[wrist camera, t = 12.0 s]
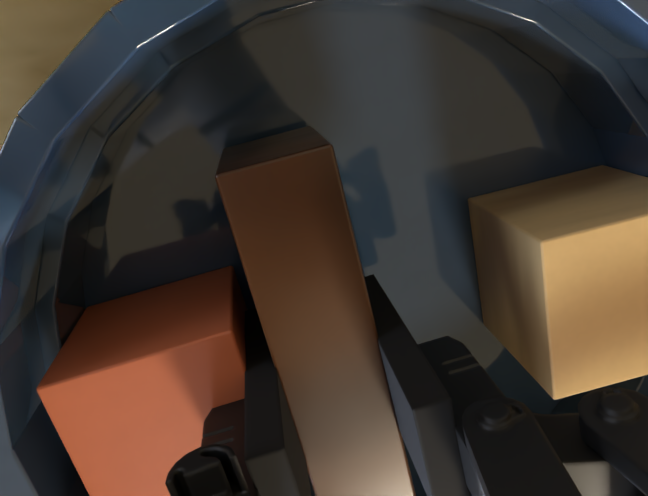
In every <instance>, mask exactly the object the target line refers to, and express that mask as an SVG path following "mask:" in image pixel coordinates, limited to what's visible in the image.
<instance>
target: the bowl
mask: <svg viewBox="0 0 648 496" xmlns="http://www.w3.org/2000/svg"><path fill="white" fill-rule="evenodd" d="M306 126H311V127H312V128H313V129H314V130H316V131H317V132H318V133H319V134H320V135H321V136H323V137H324V138H325V139H326V140H327V141H328V142H330V143H331V144H332V146H333V147H334V152H335V156H336V160H337V164H338V168H339V173H340V177H341V181H342V185H343V190H344V194H345V198H346V202H347V206H348V211H349V215H350V219H351V223H352V228H353V232H354V236H355V240H356V244H357V249H358V253H359V257H360V261H361V266H362V270H363V274H364V277H365V276H369V275H372V274H374V276H375V277H376V279H377V280H378V282H379V284H380V285H381V287H382V288H383V290H384V292H385V293H386V295H387V296H388V298H389V300H390V301H391V303H392V304H393V306H394V308H395V309H396V311H397V312H398V314H399V316H400V317H401V319H402V320H403V322H404V324H405V325H406V327H407V328H408V330H409V332H410V333H411V335H412V336H413V338H414V340H415V341H416V343H417V344H421V343H424V342H427V341H431V340H434V339H438V338H441V337H444V336H449V337H452V338H454V339H456V340H458V341H460V342H462V343H463V344H464V345H465V346H466V347H467V349H468V350H469V351H470V352H471V354H472V356H474V357H475V359H476V360H477V361H478V362H479V364H480V366H482V367H483V369H484V370H485V371H486V372H487V374H488V375H489V376H490V377H491V379H492V380H493V381H494V382H495V384H496V385H497V386H498V387H499V389H500V390H501V391H502V393H503V394H504V395H505V396H506V397H507V398H513V399H515V400H517V401H520V402H522V403H524V404H525V405H526V406H527V407H528V408H529V409H530V410H531V411H532V413H538V414H568V413H578V403H579V401H580V400H581V398H582V397H583V396H584V395H586V394H588V393H589V392H591V391H593V390H597V389H602V388H625V389H629V390H634V391H637V392H639V393H641V394H643V395H645V396H647V397H648V375H644V376H640V377H637V378H633V379H630V380H626V381H622V382H619V383H615V384H611V385H608V386H604V387H600V388H597V389H593V390H589V391H586V392H582V393H579V394H575V395H571V396H568V397H564V398H560V399H557V400H554V399H553V398H552V397H551V396H550V395H549V394H548V393H547V392H546V391H545V390H544V389H543V388H542V387H541V385H540V384H539V383H538V382H537V381H536V380H535V379H534V378H533V377H532V376H531V375H530V374H529V373H528V371H527V370H526V369H525V368H524V367H523V366H522V365H521V364H520V363H519V362H518V361H517V360H516V359H515V358H514V356H513V355H512V354H511V353H510V352H509V351H508V350H507V349H506V348H505V347H504V346H503V345H502V344H501V342H500V341H499V340H498V339H497V338H496V337H495V336H494V335H493V334H492V333H491V332H490V331H489V330H488V329H487V327H486V326H485V325H484V323H483V315H482V308H481V300H480V292H479V284H478V276H477V269H476V261H475V253H474V245H473V237H472V229H471V222H470V214H469V206H468V199H469V198H472V197H476V196H480V195H484V194H488V193H492V192H496V191H500V190H504V189H508V188H512V187H516V186H520V185H524V184H528V183H532V182H536V181H540V180H544V179H548V178H552V177H556V176H560V175H564V174H568V173H572V172H576V171H581V170H585V169H589V168H593V167H597V166H601V165H604V166H608V167H612V168H615V169H619V170H622V171H626V172H630V173H633V174H637V175H641V176H644V177H648V0H122V1H120V2H119V3H117V4H115V5H114V6H112V7H111V8H110V11H106V12H105V13H104V15H103V16H102V17H101V18H100V19H99V20H98V21H97V22H96V24H95V25H94V26H93V27H92V28H91V29H90V30H89V32H88V33H87V34H86V35H85V36H84V37H83V38H82V39H81V41H80V42H79V43H78V44H77V45H76V46H75V47H74V49H73V50H72V51H71V52H70V53H69V54H68V55H67V57H66V58H65V59H64V60H63V61H62V62H61V63H60V64H59V66H58V67H57V68H56V69H55V70H54V71H53V72H52V74H51V75H50V76H49V77H48V78H47V79H46V80H45V81H44V83H43V84H42V85H41V86H40V87H39V88H38V89H37V91H36V92H35V93H34V94H33V95H32V96H31V97H30V98H29V100H28V101H27V102H26V103H25V104H24V105H23V106H22V108H21V109H20V110H19V111H18V116H16V117H15V118H14V120H13V122H12V124H11V127H10V129H9V131H8V134H7V136H6V138H5V140H4V143H3V145H2V147H1V149H0V496H89V494H88V492H87V490H86V488H85V486H84V484H83V482H82V480H81V478H80V476H79V474H78V472H77V470H76V468H75V466H74V464H73V462H72V460H71V458H70V456H69V454H68V452H67V450H66V448H65V446H64V444H63V442H62V440H61V438H60V436H59V434H58V432H57V430H56V428H55V426H54V424H53V422H52V420H51V418H50V416H49V415H48V413H47V411H46V409H45V407H44V405H43V403H42V401H41V399H40V397H39V395H38V393H37V390H36V388H37V386H38V385H39V383H40V381H41V380H42V378H43V377H44V375H45V373H46V372H47V370H48V369H49V367H50V365H51V364H52V362H53V361H54V359H55V357H56V356H57V354H58V353H59V351H60V349H61V348H62V346H63V345H64V343H65V341H66V340H67V338H68V337H69V335H70V333H71V332H72V330H73V329H74V327H75V325H76V324H77V322H78V321H79V319H80V317H81V316H82V314H83V313H84V311H85V309H86V308H87V307H89V306H93V305H96V304H100V303H103V302H107V301H110V300H113V299H117V298H120V297H124V296H127V295H131V294H134V293H138V292H141V291H145V290H148V289H151V288H155V287H158V286H162V285H165V284H169V283H172V282H176V281H179V280H183V279H186V278H189V277H193V276H196V275H200V274H203V273H207V272H210V271H214V270H217V269H221V268H224V267H228V266H233V268H234V271H235V274H236V277H237V280H238V283H239V286H240V289H241V292H242V295H243V298H244V301H245V304H246V307H247V310H250V309H254V308H256V307H255V304H254V300H253V297H252V294H251V291H250V288H249V285H248V281H247V278H246V275H245V272H244V269H243V266H242V262H241V259H240V256H239V253H238V250H237V247H236V243H235V240H234V237H233V234H232V231H231V228H230V224H229V221H228V218H227V215H226V212H225V209H224V206H223V202H222V199H221V196H220V193H219V190H218V187H217V183H216V180H215V174H216V171H217V168H218V164H219V161H220V158H221V154H222V151H223V149H224V148H227V147H231V146H235V145H239V144H242V143H246V142H250V141H254V140H257V139H261V138H265V137H269V136H272V135H276V134H280V133H284V132H288V131H291V130H295V129H299V128H303V127H306ZM402 439H403V438H402ZM403 443H404V440H403ZM404 447H405V451H406V455H407V460H408V464H409V468H410V472H411V477H412V481H413V485H414V489H415V493H416V496H427V494H426V492H425V490H424V487H423V485H422V482H421V480H420V478H419V475H418V473H417V471H416V468H415V466H414V464H413V461H412V459H411V457H410V454H409V452H408V450H407V447H406V445H405V443H404ZM308 477H309V475H308ZM309 483H310V490H311V496H315V494H314V490H313V487H312V484H311V481H310V478H309ZM470 495H471V496H472V494H471V492H470Z"/></svg>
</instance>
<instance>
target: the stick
mask: <svg viewBox="0 0 648 496" xmlns="http://www.w3.org/2000/svg"><path fill="white" fill-rule="evenodd" d="M215 180H216V183H217V187H218V190H219V193H220V196H221V199H222V202H223V206H224V209H225V212H226V215H227V218H228V221H229V224H230V228H231V231H232V234H233V237H234V240H235V243H236V247H237V250H238V253H239V256H240V259H241V262H242V266H243V269H244V272H245V275H246V278H247V281H248V285H249V288H250V291H251V294H252V297H253V300H254V304H255V307H256V310H257V313H258V316H259V319H260V323H261V326H262V329H263V332H264V335H265V338H266V342H267V345H268V348H269V351H270V354H271V357H272V361H273V364H274V367H275V368H276V369H277V372H278V375H279V378H280V381H281V384H282V387H283V391H284V394H285V397H286V400H287V403H288V406H289V409H290V412H291V416H292V419H293V422H294V425H295V428H296V431H297V434H298V437H299V441H300V444H301V447H302V450H303V453H304V456H305V459H306V464H307V471H308V475H309V478H310V481H311V484H312V487H313V490H314V494H315V496H416V493H415V489H414V485H413V481H412V477H411V472H410V468H409V464H408V460H407V455H406V451H405V447H404V443H403V439H402V435H401V433H400V430H399V426H398V421H397V417H396V413H395V409H394V405H393V401H392V397H391V393H390V389H389V384H388V380H387V376H386V372H385V368H384V364H383V360H382V356H381V352H380V347H379V343H378V333H377V329H376V325H375V320H374V316H373V312H372V308H371V303H370V299H369V295H368V291H367V287H366V282H365V278H364V274H363V270H362V266H361V261H360V257H359V253H358V249H357V244H356V240H355V236H354V232H353V228H352V223H351V219H350V215H349V211H348V206H347V202H346V198H345V194H344V190H343V185H342V181H341V177H340V173H339V168H338V164H337V160H336V156H335V152H334V147H333V146H332V144H331V143H330V142H328V141H327V140H326V139H325V138H324V137H323V136H321V135H320V134H319V133H318V132H317V131H316V130H314V129H313V128H312V127H311V126H306V127H303V128H299V129H295V130H291V131H288V132H284V133H280V134H276V135H272V136H269V137H265V138H261V139H257V140H254V141H250V142H246V143H242V144H239V145H235V146H231V147H227V148H224V149H223V151H222V154H221V158H220V161H219V164H218V168H217V171H216V174H215Z"/></svg>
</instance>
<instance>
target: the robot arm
mask: <svg viewBox="0 0 648 496" xmlns="http://www.w3.org/2000/svg"><path fill="white" fill-rule="evenodd" d="M364 278H365V282H366V287H367V291H368V295H369V299H370V303H371V308H372V312H373V316H374V320H375V325H376V329H377V333H378V343H379V347H380V352H381V356H382V360H383V364H384V368H385V372H386V376H387V380H388V384H389V389H390V393H391V397H392V401H393V405H394V409H395V413H396V417H397V421H398V426H399V430H400V433H401V435H402V438H403V440H404V443H405V445H406V447H407V450H408V452H409V454H410V457H411V459H412V461H413V464H414V466H415V468H416V471H417V473H418V475H419V478H420V480H421V482H422V485H423V487H424V490H425V492H426V494H427V496H471V495H470V492H471V494H472V496H648V397H647V396H645V395H643V394H641V393H639V392H637V391H634V390H629V389H625V388H602V389H597V390H593V391H591V392H589V393H588V394H586V395H584V396H583V397H582V398H581V400H580V401H579V403H578V413H568V414H538V413H532V411H531V410H530V409H529V408H528V407H527V406H526V405H525V404H524V403H522V402H520V401H517V400H515V399H513V398H507V397H506V396H505V395H504V394H503V393H502V391H501V390H500V389H499V387H498V386H497V385H496V384H495V382H494V381H493V380H492V379H491V377H490V376H489V375H488V374H487V372H486V371H485V370H484V369H483V367H482V366H480V364H479V362H478V361H477V360H476V359H475V357H474V356H472V354H471V352H470V351H469V350H468V349H467V347H466V346H465V345H464V344H463V343H462V342H460V341H458V340H456V339H454V338H452V337H449V336H444V337H441V338H438V339H434V340H431V341H427V342H424V343H421V344H417V343H416V341H415V340H414V338H413V336H412V335H411V333H410V332H409V330H408V328H407V327H406V325H405V324H404V322H403V320H402V319H401V317H400V316H399V314H398V312H397V311H396V309H395V308H394V306H393V304H392V303H391V301H390V300H389V298H388V296H387V295H386V293H385V292H384V290H383V288H382V287H381V285H380V284H379V282H378V280H377V279H376V277H375V276H374V274H372V275H369V276H365V277H364ZM245 350H246V371H245V398H244V399H241V400H238V401H235V402H231V403H228V404H225V405H221V406H218V407H215V408H212V409H211V411H210V412H209V414H208V416H207V417H206V419H205V420H204V425H203V433H202V437H203V438H202V442H201V447H199V448H197V449H195V450H193V451H191V452H189V453H187V454H186V455H184V456H183V457H182V458H181V459H180V460H178V461H177V462H176V463H175V464H174V466H173V467H172V468H171V470H170V471H169V472H168V475H167V478H166V482H165V484H166V487H167V489H168V491H169V493H170V496H311V490H310V483H309V477H308V471H307V464H306V459H305V456H304V453H303V450H302V447H301V444H300V441H299V437H298V434H297V431H296V428H295V425H294V422H293V419H292V416H291V412H290V409H289V406H288V403H287V400H286V397H285V394H284V391H283V387H282V384H281V381H280V378H279V375H278V372H277V369H276V368H275V367H274V364H273V361H272V357H271V354H270V351H269V348H268V345H267V342H266V338H265V335H264V332H263V329H262V326H261V323H260V319H259V316H258V313H257V310H256V308H254V309H250V310H247V311H245Z"/></svg>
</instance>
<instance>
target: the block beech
mask: <svg viewBox="0 0 648 496" xmlns="http://www.w3.org/2000/svg"><path fill="white" fill-rule="evenodd" d="M468 206H469V214H470V222H471V229H472V237H473V245H474V253H475V261H476V269H477V276H478V284H479V292H480V300H481V308H482V315H483V323H484V325H485V326H486V327H487V329H488V330H489V331H490V332H491V333H492V334H493V335H494V336H495V337H496V338H497V339H498V340H499V341H500V342H501V344H502V345H503V346H504V347H505V348H506V349H507V350H508V351H509V352H510V353H511V354H512V355H513V356H514V358H515V359H516V360H517V361H518V362H519V363H520V364H521V365H522V366H523V367H524V368H525V369H526V370H527V371H528V373H529V374H530V375H531V376H532V377H533V378H534V379H535V380H536V381H537V382H538V383H539V384H540V385H541V387H542V388H543V389H544V390H545V391H546V392H547V393H548V394H549V395H550V396H551V397H552V398H553V399H554V400H557V399H560V398H564V397H568V396H571V395H575V394H579V393H582V392H586V391H589V390H593V389H597V388H600V387H604V386H608V385H611V384H615V383H619V382H622V381H626V380H630V379H633V378H637V377H640V376H644V375H648V177H644V176H641V175H637V174H633V173H630V172H626V171H622V170H619V169H615V168H612V167H608V166H604V165H601V166H597V167H593V168H589V169H585V170H581V171H576V172H572V173H568V174H564V175H560V176H556V177H552V178H548V179H544V180H540V181H536V182H532V183H528V184H524V185H520V186H516V187H512V188H508V189H504V190H500V191H496V192H492V193H488V194H484V195H480V196H476V197H472V198H469V199H468Z"/></svg>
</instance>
